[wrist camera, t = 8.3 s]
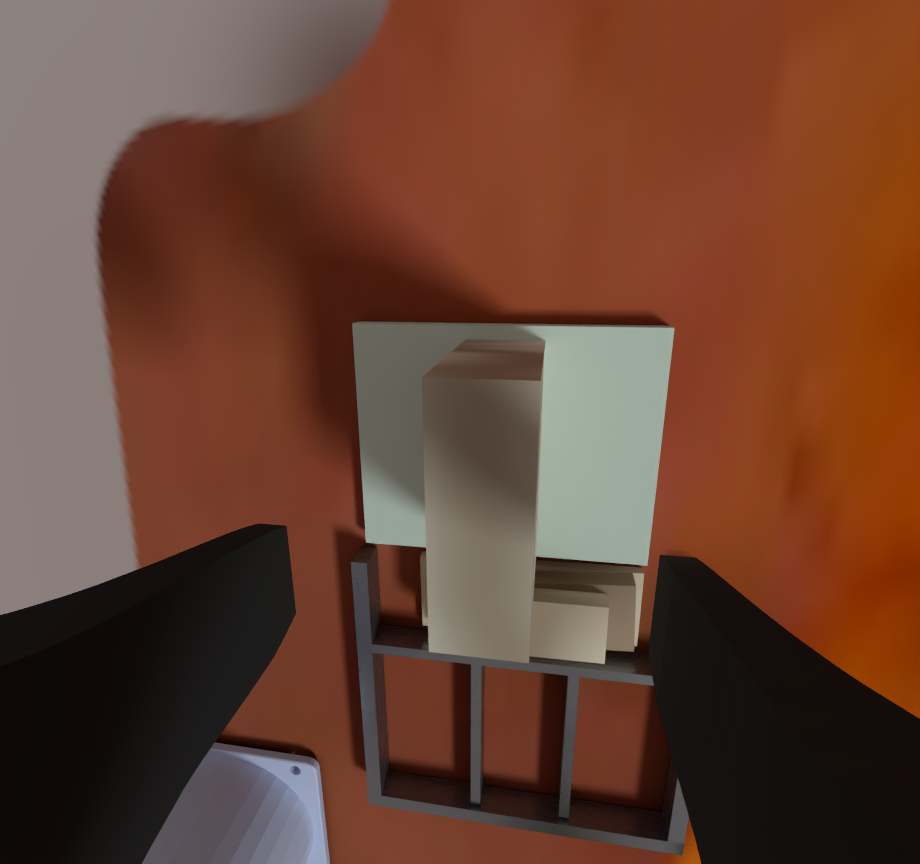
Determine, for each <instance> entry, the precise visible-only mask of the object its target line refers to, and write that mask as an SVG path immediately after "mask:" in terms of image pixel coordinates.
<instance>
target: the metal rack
mask: <svg viewBox="0 0 920 864" xmlns="http://www.w3.org/2000/svg"><path fill="white" fill-rule="evenodd" d="M351 572H352V585H353V599H354V613H355V626H356V640H357V653H358V667H359V681H360V694H361V708H362V721H363V735H364V748H365V762H366V776H367V789H368V803H369V804H371V805H377V806H383V807H389V808H395V809H401V810H407V811H414V812H420V813H426V814H432V815H438V816H444V817H450V818H456V819H463V820H469V821H475V822H481V823H487V824H493V825H499V826H505V827H512V828H518V829H524V830H530V831H536V832H542V833H548V834H554V835H560V836H567V837H573V838H579V839H585V840H591V841H597V842H603V843H609V844H616V845H622V846H628V847H634V848H640V849H646V850H652V851H658V852H665V853H671V854H677V855H682V853H683V847H684V841H685V835H686V829H687V823H688V817H689V815H688V811H687V808H686V805H685V801H684V798H683V794H682V791H681V787H680V784H679V780H678V777H677V773H676V770H675V766H674V763H673V759H672V756H671V754H670V761H669V768H668V774H667V781H666V788H665V795H664V802H663V809H662V812H658V811H652V810H645V809H638V808H632V807H625V806H619V805H612V804H606V803H599V802H592V801H586V800H579V799H573V798H570V794H571V781H572V768H573V754H574V741H575V728H576V715H577V702H578V689H579V677H584V678H592V679H601V680H610V681H618V682H627V683H635V684H644V685H653V686H654V684H653V677H652V671H651V664H650V657H649V653H645V652H635V651H634V652H632V651H614V650H606V654H605V664H600V663H590V662H581V661H571V660H561V659H552V658H542V657H532V656H529V663H522V662H513V661H505V660H496V659H487V658H478V657H470V656H461V655H452V654H443V653H434V652H429V640H428V629H421V628H411V627H402V626H393V625H383V624H381V610H380V593H379V575H378V557H377V547H372V546H361V548H360V549H359V551H358V552H357V554H356V555H355V557H354V558H353V559H352V561H351ZM383 654H386V655H395V656H403V657H412V658H420V659H429V660H438V661H446V662H455V663H463V664H471V783H467V782H461V781H454V780H448V779H441V778H434V777H428V776H421V775H415V774H408V773H402V772H395V771H390V769H389V752H388V734H387V716H386V699H385V681H384V663H383ZM485 666H489V667H498V668H506V669H515V670H524V671H532V672H541V673H549V674H558V675H566V689H565V704H564V718H563V733H562V748H561V763H560V778H559V792H558V796H553V795H546V794H540V793H533V792H527V791H520V790H513V789H507V788H500V787H494V786H487V785H483V759H484V674H485Z"/></svg>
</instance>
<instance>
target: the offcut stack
mask: <svg viewBox="0 0 920 864" xmlns="http://www.w3.org/2000/svg"><path fill="white" fill-rule="evenodd" d="M420 571H421V596H422V621H423V626H428V602H427V563H426V552H423V551H422V553H421V556H420ZM643 580H644V572H643V568H642V567H629V566H615V565H601V564H588V563H574V562H560V561H546V560H536V563H535V579H534V594H533V610H532V625H531V641H530V656H532V657H542V658H552V659H561V660H571V661H581V662H590V663H600V664H605V654H606V650H614V651H632V652H634V646H637V641H638V631H639V621H640V610H641V600H642V590H643Z"/></svg>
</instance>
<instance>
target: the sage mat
mask: <svg viewBox="0 0 920 864" xmlns="http://www.w3.org/2000/svg"><path fill="white" fill-rule="evenodd" d="M352 329H353V345H354V361H355V377H356V393H357V408H358V424H359V440H360V456H361V472H362V487H363V503H364V519H365V535H366V543H378V544H390V545H402V546H415V547H426V525H425V486H424V447H423V409H422V377H423V376H424V375H425V374H426V373H427V372H428V371H430V370H431V369H432V368H433V367H434V366H435V365H437V364H438V363H439V362H440V361H441V360H442V359H444V358H445V357H446V356H447V355H448V354H449V353H451V352H452V351H453V350H454V349H455V348H456V347H458V346H459V345H460V344H461V343H462V342H463V341H465V340H466V339H470V340H524V341H546V343H545V366H544V389H543V412H542V435H541V458H540V481H539V504H538V527H537V548H536V557H548V558H560V559H573V560H585V561H597V562H609V563H621V564H633V565H645V566H647V564H648V555H649V547H650V538H651V529H652V520H653V512H654V503H655V494H656V485H657V476H658V468H659V459H660V450H661V441H662V433H663V424H664V415H665V406H666V398H667V389H668V380H669V371H670V363H671V354H672V345H673V336H674V327H672V326H658V325H585V324H512V323H439V322H365V321H358V322H355V323H352Z"/></svg>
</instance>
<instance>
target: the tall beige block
mask: <svg viewBox="0 0 920 864" xmlns="http://www.w3.org/2000/svg"><path fill="white" fill-rule="evenodd" d="M545 343H546V341H524V340H470V339H466V340H465V341H463V342H462V343H461V344H460V345H459V346H458V347H456V348H455V349H454V350H453V351H452V352H451V353H449V354H448V355H447V356H446V357H445V358H444V359H442V360H441V361H440V362H439V363H438V364H437V365H435V366H434V367H433V368H432V369H431V370H430V371H428V372H427V373H426V374H425V375H424V376H423V377H422V409H423V447H424V486H425V525H426V563H427V602H428V640H429V652H434V653H443V654H452V655H461V656H470V657H478V658H487V659H496V660H505V661H513V662H522V663H529V656H530V641H531V625H532V610H533V594H534V579H535V563H536V548H537V527H538V504H539V481H540V458H541V435H542V412H543V389H544V366H545Z"/></svg>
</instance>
